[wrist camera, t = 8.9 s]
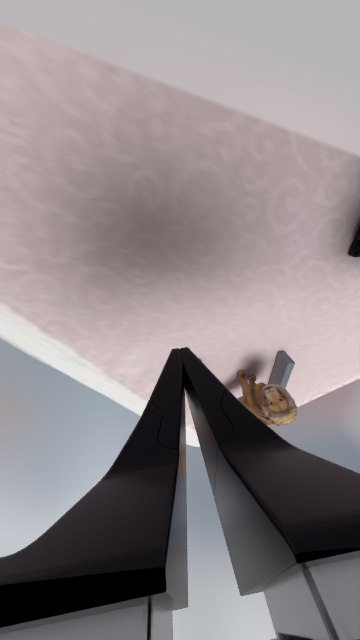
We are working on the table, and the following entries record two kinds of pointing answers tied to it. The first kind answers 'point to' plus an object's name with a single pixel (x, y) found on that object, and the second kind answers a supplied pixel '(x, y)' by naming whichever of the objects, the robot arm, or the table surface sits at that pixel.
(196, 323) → the table surface
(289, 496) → the robot arm
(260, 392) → the lion figurine
